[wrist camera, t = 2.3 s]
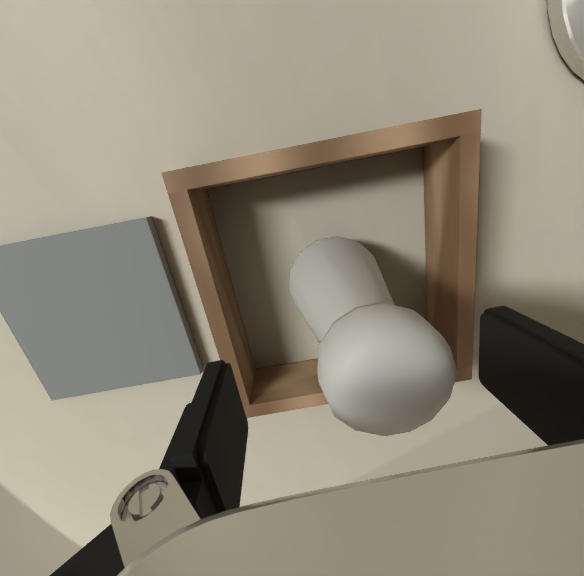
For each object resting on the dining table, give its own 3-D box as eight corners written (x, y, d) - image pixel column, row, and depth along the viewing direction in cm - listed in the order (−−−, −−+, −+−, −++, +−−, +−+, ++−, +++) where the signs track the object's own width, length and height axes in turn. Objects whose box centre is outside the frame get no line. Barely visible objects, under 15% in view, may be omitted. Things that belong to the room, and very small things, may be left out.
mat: (151, 216, 19) (145, 217, 18) (203, 367, 23) (200, 374, 22) (-22, 250, 19) (-34, 252, 18) (59, 393, 23) (51, 400, 22)
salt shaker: (378, 291, 21) (511, 435, 9) (307, 320, 22) (339, 491, 10) (352, 217, 19) (475, 270, 7) (275, 250, 20) (265, 352, 8)
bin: (438, 125, 18) (481, 108, 14) (440, 347, 23) (471, 379, 19) (186, 175, 18) (161, 172, 14) (245, 381, 23) (238, 419, 20)
